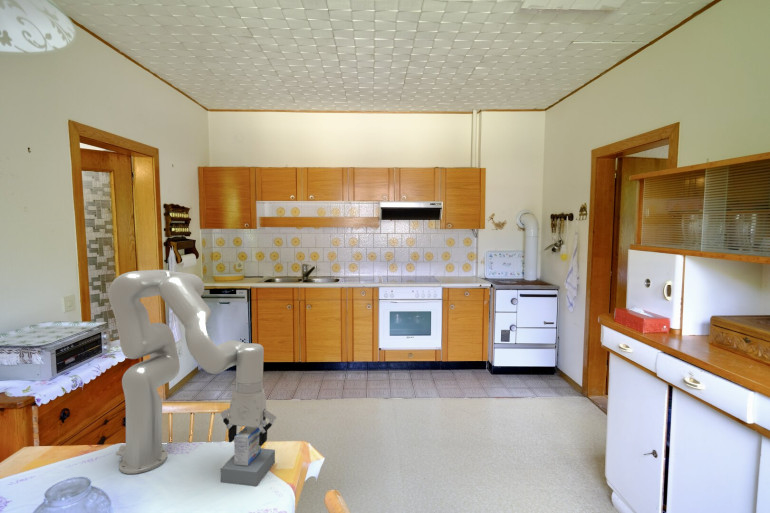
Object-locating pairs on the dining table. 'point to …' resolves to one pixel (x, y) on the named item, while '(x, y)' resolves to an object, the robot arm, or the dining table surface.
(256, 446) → the medicine box
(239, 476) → the base block
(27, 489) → the dining table surface
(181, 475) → the dining table surface
